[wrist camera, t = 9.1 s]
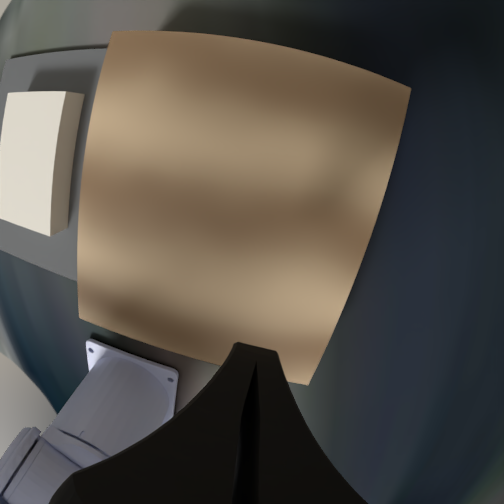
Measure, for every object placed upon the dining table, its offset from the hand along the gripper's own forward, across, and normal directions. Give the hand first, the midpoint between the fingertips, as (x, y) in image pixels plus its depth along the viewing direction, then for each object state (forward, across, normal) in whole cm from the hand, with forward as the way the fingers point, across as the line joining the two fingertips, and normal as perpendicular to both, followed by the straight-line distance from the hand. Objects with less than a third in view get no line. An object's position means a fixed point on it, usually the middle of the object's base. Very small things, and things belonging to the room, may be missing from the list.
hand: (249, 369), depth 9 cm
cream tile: (+8, +16, -3) cm, 19 cm away
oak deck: (+9, +3, -3) cm, 10 cm away
